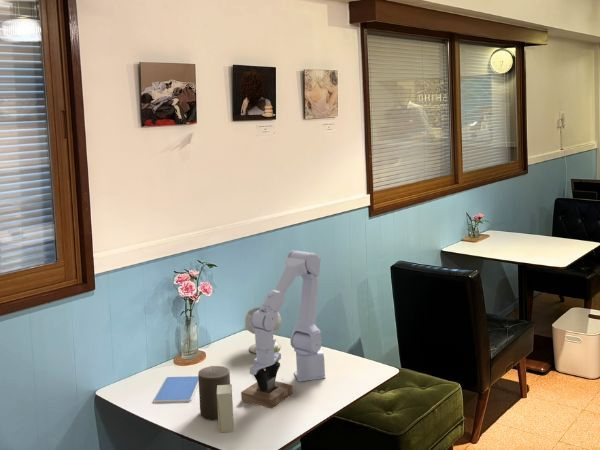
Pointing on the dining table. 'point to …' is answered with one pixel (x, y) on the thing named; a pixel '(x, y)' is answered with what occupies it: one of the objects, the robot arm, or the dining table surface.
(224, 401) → the skincare box
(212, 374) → the pillar candle
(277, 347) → the supplement bottle
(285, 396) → the holder
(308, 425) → the dining table surface
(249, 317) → the chalice
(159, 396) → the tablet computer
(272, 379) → the peg
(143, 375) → the dining table surface
